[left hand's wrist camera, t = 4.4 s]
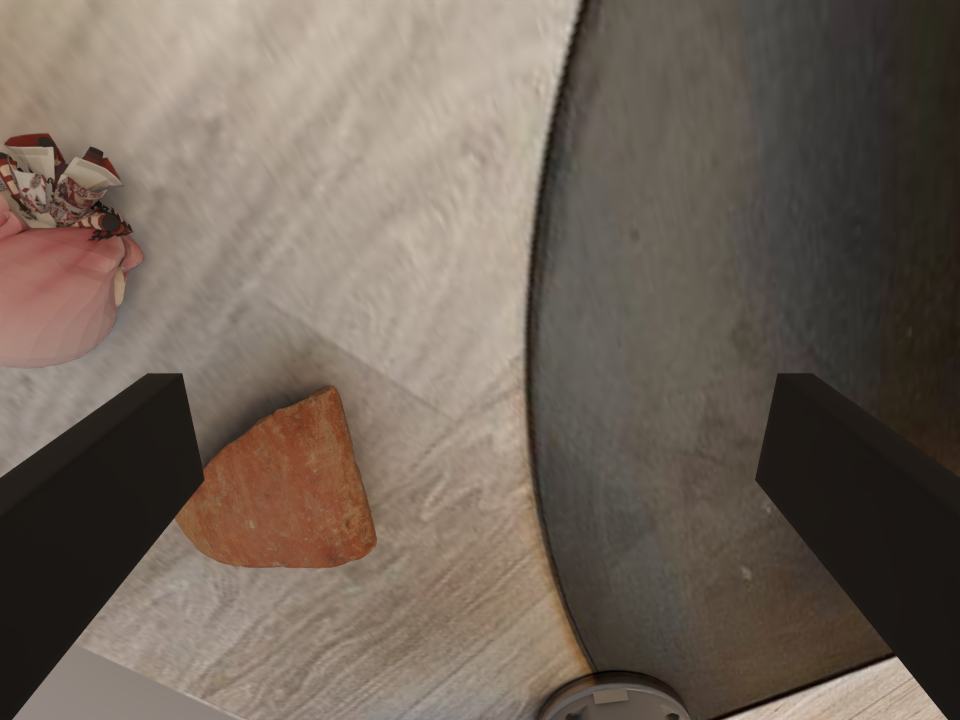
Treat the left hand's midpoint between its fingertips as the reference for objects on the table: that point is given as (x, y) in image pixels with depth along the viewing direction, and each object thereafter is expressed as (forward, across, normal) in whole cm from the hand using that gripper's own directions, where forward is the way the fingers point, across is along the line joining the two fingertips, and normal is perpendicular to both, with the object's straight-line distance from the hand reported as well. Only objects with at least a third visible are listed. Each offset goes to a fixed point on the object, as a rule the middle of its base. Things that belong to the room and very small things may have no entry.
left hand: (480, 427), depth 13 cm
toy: (+28, +28, 0) cm, 39 cm away
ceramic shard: (+28, +17, +19) cm, 38 cm away
